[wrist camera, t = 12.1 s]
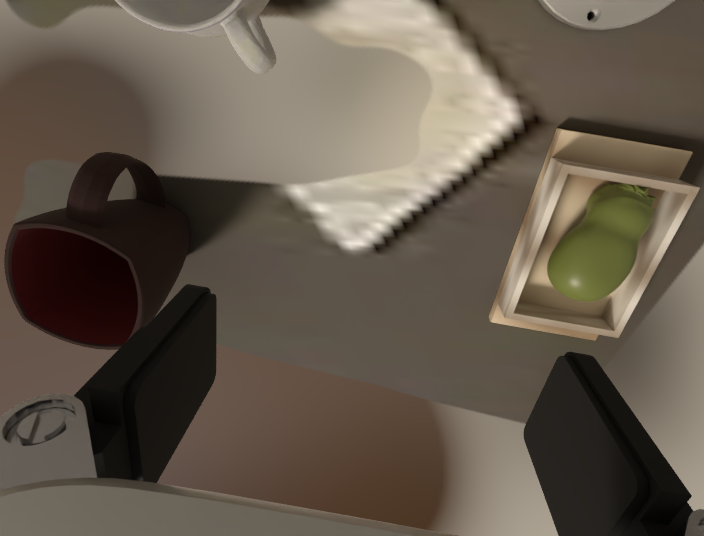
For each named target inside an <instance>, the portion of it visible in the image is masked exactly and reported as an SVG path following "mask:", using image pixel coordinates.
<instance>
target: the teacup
mask: <svg viewBox="0 0 704 536" xmlns="http://www.w3.org/2000/svg"><path fill="white" fill-rule="evenodd" d="M115 1H116V2H117V3H118V4H119V5H120V6H121V7H123V8H124V9H125V10H126V11H127V12H128V13H130V14H131V15H132V16H134V17H135V18H137V19H138V20H140V21H143V22H145V23H147V24H149V25H151V26H154V27H156V28H159V29H162V30H166V31H171V32H178V33H186V34H190V35H195V36H202V37H219V36H225V35H227V36H228V38H229V40H230V42H231V44H232V46H233V47H234V49H235V50H236V52H237V54H238V55H239V57H240V58H241V59H242V60H243V62H244V63H245V64H246V65H247V66H248V67H249V68H250V69H251V70H252V71H253V72H255V73H257V74H264V73H266V72H268V71H269V70H270V69H271V68H272V67H273V66H274V65H275V63H276V55H275V52H274V50H273V47H272V45H271V42H270V41H269V38H268V36H267V35H266V33H265V30H264V29H263V26H262V23H261V20H260V18H259V15H260V13H261V12H262V11H263V9H264V8H265V7H266V5H267V4H268V2H269V0H115Z"/></svg>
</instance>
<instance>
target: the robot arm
mask: <svg viewBox="0 0 704 536" xmlns="http://www.w3.org/2000/svg"><path fill="white" fill-rule="evenodd" d="M538 1H539V2H540V3H541V5H542V6H543V7H544V9H545V10H547V11H548V12H549V13H550V14H551V15H553V16H554V17H555V18H556V19H558V20H560V21H562V22H564V23H566V24H568V25H570V26H572V27H576V28H581V29H585V30H609V29H615V28H621V27H624V26H628V25H631V24H635V23H638V22H640V21H642V20H644V19H646V18H648V17H651V16H653V15H655V14H657V13H658V12H660V11H661V10H663V9H664V8H666V7H667V6H668V5H670V4H671V3H673V2H674V1H676V0H538ZM589 12H590V13H591V14H592V17H591V19H590V20H588V19H587V14H588V13H589ZM215 376H216V295H215V294H211V293H210V289H209V288H207V287H201V286H195V285H190V284H187V285H185V286H184V287H183V288H182V289H181V290H180V291H179V293H178V294H177V295H176V296H175V297H174V298H173V299H172V300H171V301H170V302H169V303H168V304H167V305H166V306H165V307H164V308H163V309H162V310H161V311H160V312H159V314H158V315H157V316H156V317H155V318H154V319H153V320H152V321H151V322H150V323H149V324H148V325H147V326H144V327H141V328H140V329H139V330H137V331H136V332H135V333H134V334H133V335H132V336H131V337H130V338H129V340H128V341H127V342H126V343H125V344H124V345H123V346H122V347H121V348H120V349H119V350H118V351H117V352H116V353H115V354H114V355H113V356H112V357H111V358H110V359H109V360H108V361H107V362H106V363H105V364H104V365H103V366H102V367H101V368H100V369H99V370H98V372H96V374H94V375H93V377H92V378H91V379H90V380H89V381H88V382H87V383H86V384H85V385H84V386H83V387H82V388H81V389H80V390H79V391H78V392H77V393H76V394H75V395H74V396H71V395H67V394H49V395H43V396H38V397H35V398H32V399H29V400H27V401H24V402H22V403H20V404H19V405H17V406H15V407H13V408H12V409H11V410H9V411H8V412H7V413H6V414H4V415H3V416H1V418H0V536H456V535H451V534H445V533H440V532H434V531H429V530H423V529H418V528H413V527H407V526H402V525H396V524H391V523H385V522H380V521H374V520H368V519H363V518H358V517H352V516H347V515H341V514H335V513H330V512H324V511H318V510H313V509H307V508H302V507H296V506H290V505H285V504H278V503H273V502H268V501H261V500H256V499H251V498H245V497H239V496H234V495H228V494H222V493H216V492H210V491H203V490H197V489H191V488H184V487H178V486H172V485H165V484H159V483H157V481H158V480H159V478H160V476H161V474H162V473H163V471H164V469H165V467H166V466H167V464H168V462H169V460H170V458H171V457H172V455H173V453H174V451H175V449H176V448H177V446H178V444H179V442H180V441H181V439H182V437H183V435H184V434H185V432H186V430H187V429H188V427H189V425H190V423H191V422H192V420H193V418H194V416H195V414H196V413H197V411H198V409H199V407H200V406H201V403H202V402H203V400H204V398H205V397H206V395H207V393H208V391H209V390H210V388H211V386H212V384H213V382H214V379H215ZM524 440H525V443H526V446H527V449H528V452H529V454H530V457H531V459H532V462H533V465H534V468H535V471H536V474H537V477H538V479H539V482H540V485H541V488H542V491H543V493H544V496H545V499H546V502H547V504H548V507H549V510H550V513H551V515H552V518H553V521H554V524H555V527H556V530H557V532H558V535H559V536H704V510H703V509H699V510H696V511H693V510H692V509H691V507H690V506H689V504H688V503H687V501H688V500H689V499H690V498H691V494H690V493H689V492H688V490H687V489H686V487H685V486H684V484H683V483H682V482H681V480H680V479H679V477H678V476H677V474H676V473H675V472H674V470H673V469H672V467H671V466H670V464H669V463H668V462H667V460H666V459H665V457H664V456H663V455H662V453H661V452H660V450H659V449H658V447H657V446H656V445H655V443H654V442H653V440H652V439H651V437H650V436H649V435H648V433H647V432H646V430H645V429H644V428H643V426H642V425H641V423H640V422H639V421H638V419H637V418H636V416H635V415H634V413H633V412H632V411H631V409H630V408H629V406H628V405H627V403H626V402H625V401H624V399H623V398H622V396H621V395H620V393H619V392H618V391H617V389H616V388H615V386H614V385H613V384H612V382H611V381H610V379H609V378H608V377H607V375H606V374H605V372H604V371H603V369H602V368H601V366H600V365H599V364H598V362H597V361H596V359H595V358H594V357H593V356H590V355H585V354H579V353H574V352H567V353H566V354H565V355H564V356H560V357H558V359H557V360H556V362H555V364H554V366H553V369H552V371H551V373H550V375H549V377H548V379H547V381H546V383H545V385H544V387H543V390H542V392H541V394H540V396H539V398H538V400H537V402H536V404H535V406H534V408H533V410H532V413H531V415H530V417H529V419H528V421H527V423H526V425H525V428H524Z"/></svg>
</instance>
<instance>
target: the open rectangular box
mask: <svg viewBox="0 0 704 536" xmlns="http://www.w3.org/2000/svg"><path fill="white" fill-rule="evenodd" d="M692 153H693V152H691V151H687V150H683V149H677V148H671V147H665V146H659V145H653V144H647V143H642V142H636V141H630V140H624V139H618V138H612V137H607V136H601V135H595V134H589V133H583V132H577V131H572V130H566V129H560V128H557V129H556V131H555V134H554V137H553V140H552V143H551V145H550V148H549V151H548V154H547V156H546V159H545V162H544V165H543V168H542V170H541V173H540V176H539V179H538V181H537V184H536V187H535V190H534V192H533V195H532V198H531V201H530V204H529V206H528V209H527V212H526V215H525V217H524V220H523V223H522V226H521V229H520V231H519V234H518V237H517V240H516V242H515V245H514V248H513V251H512V253H511V256H510V259H509V262H508V265H507V267H506V270H505V273H504V276H503V278H502V281H501V284H500V287H499V290H498V292H497V295H496V298H495V301H494V303H493V306H492V309H491V312H490V314H489V318H490V321H491V322H493V323H499V324H504V325H510V326H516V327H521V328H527V329H533V330H538V331H544V332H550V333H555V334H561V335H567V336H572V337H578V338H584V339H589V340H595V341H596V339H597V337H598V335H605V336H610V337H616V338H619V336H620V334H621V332H622V330H623V328H624V327H625V325H626V323H627V321H628V319H629V317H630V316H631V314H632V312H633V310H634V308H635V306H636V305H637V303H638V301H639V299H640V297H641V295H642V294H643V292H644V290H645V288H646V286H647V284H648V283H649V281H650V279H651V277H652V275H653V273H654V272H655V270H656V268H657V266H658V264H659V262H660V261H661V259H662V257H663V255H664V253H665V251H666V250H667V248H668V246H669V244H670V242H671V240H672V239H673V237H674V235H675V233H676V231H677V229H678V228H679V226H680V224H681V222H682V220H683V218H684V217H685V215H686V213H687V211H688V209H689V207H690V206H691V204H692V202H693V200H694V198H695V196H696V195H697V193H698V191H699V189H700V188H699V187H697V186H694V185H692V184H689V183H686V182H684V181H681V180H679V178H680V176H681V174H682V172H683V171H684V169H685V167H686V165H687V163H688V161H689V159H690V157H691V155H692ZM617 183H626V184H631V185H636V186H638V187H646V188H648V187H649V191H648V195H652V196H655V197H656V200H655V202H654V203H653V204H652V207H651V208H652V209H653V210H654V214H653V218H652V221H651V224H650V226H649V228H648V229H647V231H646V232H645V233H644V235H643V236H642V238H641V239H640V242H639V245H638V252H637V257H636V261H635V264H634V266H633V268H632V270H631V272H630V273H629V275H628V276H627V278H626V279H625V280H624V281H623V283H622V284H621V285H620V286H619V287H618V288H617V289H616V290H615V291H614V292H612V293H611V294H610V295H608V296H606V297H605V298H603V299H600V300H597V301H592V302H582V301H577V300H573V299H570V298H568V297H566V296H564V295H563V294H561V293H560V292H559V291H557V290H556V289H555V288H554V287H553V285H552V284H551V282H550V280H549V278H548V274H547V264H548V260H549V258H550V255H551V253H552V252H553V250H554V249H555V247H556V246H557V244H558V243H559V242H560V241H561V239H562V238H563V237H564V236H565V235H566V234H567V233H568V232H570V231H571V230H572V229H574V228H575V227H576V226H578V225H579V224H580V222H581V221H582V220H583V218H584V217H585V215H586V213H587V201H588V198H589V197H590V195H591V194H593V193H594V192H596V191H598V190H599V189H600V188H602V187H603V186H605V185H607V184H610V185H614V184H617Z"/></svg>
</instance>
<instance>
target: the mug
mask: <svg viewBox="0 0 704 536" xmlns="http://www.w3.org/2000/svg"><path fill="white" fill-rule="evenodd" d="M125 168H127V169H128V170H129V172H130V174H131V176H132V178H133V180H134V183H135V185H136V189H137V199H127V200H113V201H107V199H108V196H109V193H110V191H111V189H112V186H113V184H114V182H115V181H116V179H117V177H118V176H119V175H120V173H121V172H122V171H123V170H124V169H125ZM189 244H190V227H189V223H188V219H187V216H186V215H185V214H183V213H182V212H181V211H179V210H178V209H176V208H174V207H172V206H170V205H168V204H165V197H164V192H163V189H162V186H161V184H160V181H159V179H158V177H157V176H156V174H155V173H154V171H153V170H152V169H151V168H150V167H149V166H148V165H146V164H145V163H144V162H142V161H140V160H137V159H135V158H133V157H131V156H128V155H125V154H118V153H111V152H104V153H97V154H95V155H94V156H92V157H91V158H89V159H88V160H87V161H86V162H85V163H84V164H83V165H82V166H81V168H80V169H79V171H78V173H77V174H76V177H75V179H74V181H73V183H72V186H71V189H70V192H69V196H68V201H67V208H63V209H59V210H54V211H50V212H47V213H43V214H40V215H37V216H34V217H31V218H28V219H25V220H23V221H20V222H18V223H15V224H14V225H13V227H12V229H11V232H10V234H9V237H8V240H7V244H6V249H5V274H6V280H7V284H8V288H9V291H10V294H11V296H12V299H13V301H14V304H15V306H16V308H17V309H18V311H19V313H20V315H21V316H22V318H23V319H24V320H25V321H26V322H28V323H29V324H31V325H33V326H34V327H36V328H38V329H39V330H41V331H43V332H45V333H47V334H49V335H51V336H53V337H56V338H58V339H61V340H64V341H66V342H69V343H72V344H76V345H80V346H84V347H90V348H96V349H107V350H111V349H113V350H114V349H120V348H121V347H122V346H123V345H124V344H125V343H126V342H127V341H128V340H129V338H130V337H131V336H132V335H133V334H134V333H135V332H136V331H137V330H139V329H140V328H141V327H144V326H147V325H148V324H149V323H150V322H151V321H152V320H153V318H154V317H155V316H156V314H157V313H158V311H159V310H160V308H161V306H162V305H163V303H164V301H165V300H166V298H167V296H168V294H169V292H170V291H171V289H172V287H173V285H174V283H175V281H176V279H177V277H178V275H179V273H180V271H181V269H182V266H183V264H184V261H185V258H186V255H187V252H188V248H189Z"/></svg>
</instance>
